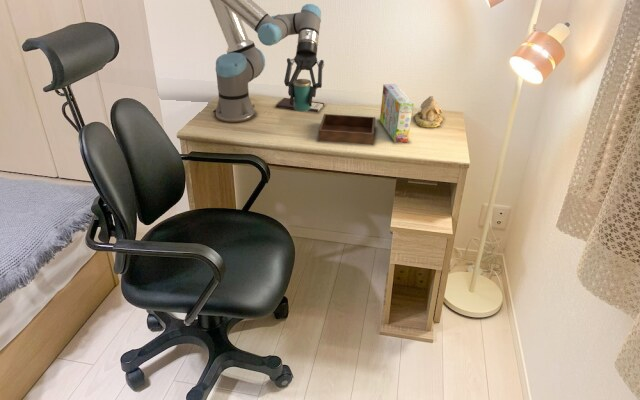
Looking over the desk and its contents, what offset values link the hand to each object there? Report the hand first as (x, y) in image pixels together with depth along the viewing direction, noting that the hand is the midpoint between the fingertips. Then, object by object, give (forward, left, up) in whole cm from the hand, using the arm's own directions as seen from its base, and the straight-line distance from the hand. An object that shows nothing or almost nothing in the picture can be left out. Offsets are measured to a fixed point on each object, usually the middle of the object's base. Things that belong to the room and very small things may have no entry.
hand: (300, 104), depth 170 cm
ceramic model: (+48, +22, -12) cm, 54 cm away
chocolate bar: (-5, +29, -12) cm, 31 cm away
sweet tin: (0, +4, -3) cm, 5 cm away
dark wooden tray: (+17, +4, -12) cm, 21 cm away
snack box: (+34, +10, -12) cm, 37 cm away
